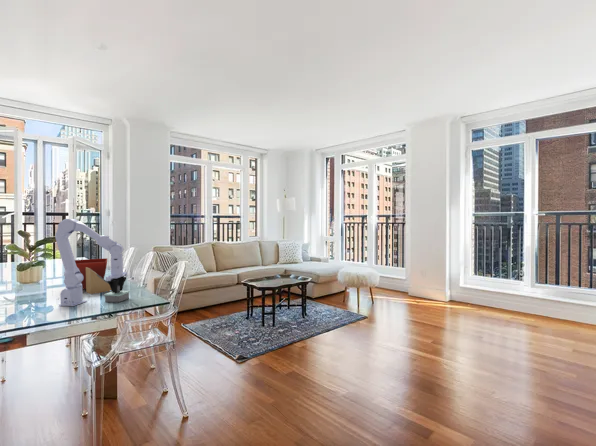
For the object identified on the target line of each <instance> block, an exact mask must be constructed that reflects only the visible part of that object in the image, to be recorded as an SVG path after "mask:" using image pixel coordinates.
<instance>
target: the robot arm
mask: <svg viewBox="0 0 596 446" xmlns="http://www.w3.org/2000/svg"><path fill="white" fill-rule="evenodd" d="M74 232H78V233H79V232H81V233H83V234H85V235H87V236H88V237H90V238H91V239H93V240H95V241H96V245H98V246H99V247H101V248H103V249H104V250H106V251H108V253H109V255H110V275H108V276H105V280H106V281H107V282H108V283H109V285H110V287H111V290H112V291H111V292H112V293H117V286H118V285H119V286H120V291H123V288H124V286H125V285H124V284H125V283H126V280H127V277H128V272H125V271H124V259H123V256H124V255H123V253H124V252H123V251H124V246H123V245H122V244H121V243H118V242H117V241H114V240H113V239H112V238H111V237H110V236H109V235H106V234H103V235H101V234H99V233H98V232H96V231H95V230H94V229H92V228H91V227H90V226H88V225H87V224H86V223H84V222H82V221H79V220H78V219H76V218H64V219H63V220H61V221H60V222H59V223H58V224H57V229H56V232H55V236H54V238H55V241H56V244H57V248H58V251H59V253H60V255H59V256H60V258H61V262H62V264H63V268H64V274H63V276H64V278H63V279H64V280H63V283H64V285H65V288H64V289H62V290H61V291H60V295H59V296H60V298H59V299H60V304H58V306H60V307H75V306H78V305H80V304H83V303H86V302H87V300H86V299H83V297H84V295H83V294H84V293H83V290H84V289H82V283H81V282H82V281H83V279H84V277H83V275H82V274H81V273H80V270H79V269H78V267H77V266H76V263H75V260H76V259H75V256H74V253H73V250H72V246H71V243H70V239H69V237H70V236H71V235H72V234H73V233H74Z"/></svg>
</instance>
